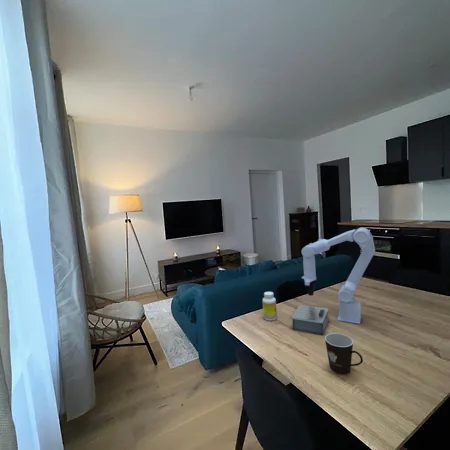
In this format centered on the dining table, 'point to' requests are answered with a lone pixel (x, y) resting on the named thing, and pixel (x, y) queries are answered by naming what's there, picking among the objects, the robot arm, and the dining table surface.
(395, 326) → the dining table surface
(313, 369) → the dining table surface
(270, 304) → the supplement bottle
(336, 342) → the coffee mug
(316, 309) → the steel lid
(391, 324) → the dining table surface
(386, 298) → the dining table surface
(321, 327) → the grey square box
